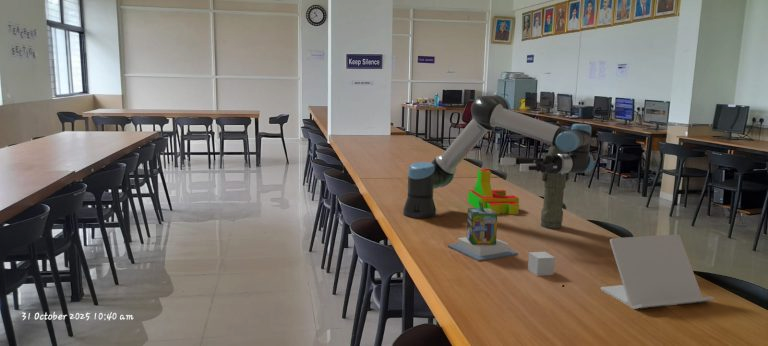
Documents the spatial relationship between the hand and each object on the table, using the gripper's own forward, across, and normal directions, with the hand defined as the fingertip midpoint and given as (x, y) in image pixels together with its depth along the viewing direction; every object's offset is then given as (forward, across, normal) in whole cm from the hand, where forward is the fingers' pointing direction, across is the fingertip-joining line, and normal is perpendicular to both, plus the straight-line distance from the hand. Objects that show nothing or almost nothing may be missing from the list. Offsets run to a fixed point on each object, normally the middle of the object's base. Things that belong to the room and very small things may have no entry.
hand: (510, 164), depth 208 cm
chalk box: (+15, -9, -27) cm, 32 cm away
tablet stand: (-14, -61, -30) cm, 69 cm away
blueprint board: (+14, -9, -30) cm, 35 cm away
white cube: (+7, -34, -30) cm, 46 cm away
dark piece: (-32, +14, -30) cm, 46 cm away
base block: (+14, -9, -30) cm, 35 cm away
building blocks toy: (-25, +49, -31) cm, 63 cm away
